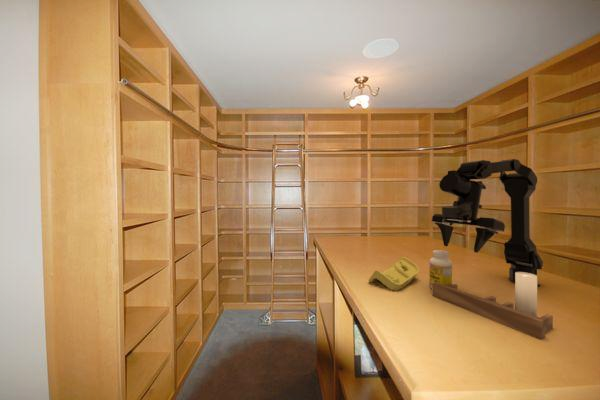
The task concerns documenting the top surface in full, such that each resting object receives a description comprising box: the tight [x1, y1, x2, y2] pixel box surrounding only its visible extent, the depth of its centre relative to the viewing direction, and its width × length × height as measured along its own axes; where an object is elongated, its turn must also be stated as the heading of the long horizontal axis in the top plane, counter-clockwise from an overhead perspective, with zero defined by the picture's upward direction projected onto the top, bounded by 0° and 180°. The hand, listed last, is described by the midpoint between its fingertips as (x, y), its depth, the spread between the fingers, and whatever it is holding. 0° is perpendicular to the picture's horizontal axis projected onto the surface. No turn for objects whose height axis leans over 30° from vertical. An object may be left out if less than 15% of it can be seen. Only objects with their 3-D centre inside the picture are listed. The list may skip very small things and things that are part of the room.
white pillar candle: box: [514, 272, 538, 317], centre depth 59 cm, size 4×4×12 cm
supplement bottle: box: [428, 249, 453, 289], centre depth 80 cm, size 7×7×13 cm
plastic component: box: [368, 256, 420, 292], centre depth 88 cm, size 20×7×10 cm
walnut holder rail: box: [431, 282, 554, 340], centre depth 65 cm, size 8×26×4 cm, turn 26°
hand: (459, 249), depth 72 cm, fingers open, 9 cm apart
